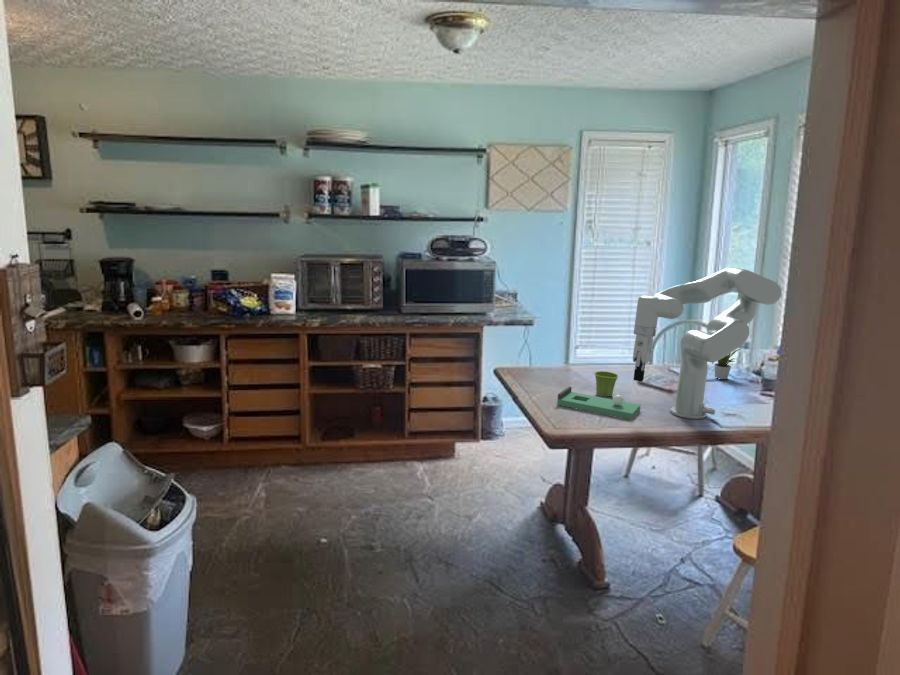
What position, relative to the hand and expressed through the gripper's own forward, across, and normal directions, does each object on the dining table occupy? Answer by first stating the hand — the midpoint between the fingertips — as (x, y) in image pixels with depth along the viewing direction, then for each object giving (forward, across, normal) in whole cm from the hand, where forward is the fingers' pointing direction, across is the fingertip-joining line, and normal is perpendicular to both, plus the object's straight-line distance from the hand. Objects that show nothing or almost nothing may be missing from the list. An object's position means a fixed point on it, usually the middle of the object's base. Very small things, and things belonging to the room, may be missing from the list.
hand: (638, 380), depth 236 cm
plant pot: (+13, +20, +16) cm, 29 cm away
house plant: (+12, +83, -22) cm, 86 cm away
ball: (+9, 0, +6) cm, 11 cm away
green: (+13, +1, +13) cm, 19 cm away
